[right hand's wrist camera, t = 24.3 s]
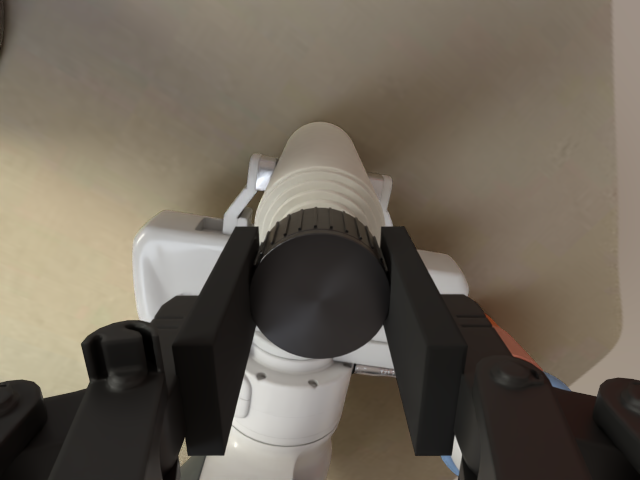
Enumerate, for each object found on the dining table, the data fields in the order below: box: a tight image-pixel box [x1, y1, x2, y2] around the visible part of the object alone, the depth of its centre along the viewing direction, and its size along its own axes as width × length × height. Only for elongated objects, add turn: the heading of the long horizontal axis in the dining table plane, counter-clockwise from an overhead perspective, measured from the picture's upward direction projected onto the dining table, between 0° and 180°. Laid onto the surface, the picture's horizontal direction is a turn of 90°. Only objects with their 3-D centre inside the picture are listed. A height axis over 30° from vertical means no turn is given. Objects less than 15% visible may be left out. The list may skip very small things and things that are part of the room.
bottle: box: [254, 122, 385, 248], centre depth 22 cm, size 5×5×20 cm
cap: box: [249, 207, 391, 359], centre depth 13 cm, size 4×4×2 cm
